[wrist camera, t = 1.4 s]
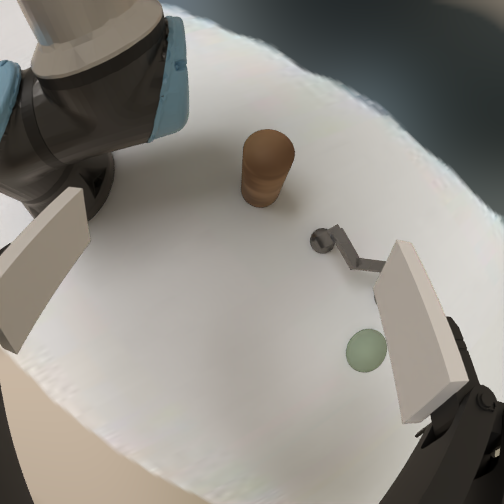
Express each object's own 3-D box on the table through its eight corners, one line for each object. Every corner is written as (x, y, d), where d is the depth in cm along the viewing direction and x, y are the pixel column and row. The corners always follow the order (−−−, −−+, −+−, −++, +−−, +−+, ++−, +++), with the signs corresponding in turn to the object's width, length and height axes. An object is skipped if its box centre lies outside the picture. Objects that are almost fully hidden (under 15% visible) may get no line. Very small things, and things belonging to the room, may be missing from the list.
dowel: (234, 182, 41) (233, 142, 29) (266, 165, 42) (277, 121, 30) (253, 214, 41) (260, 184, 29) (286, 196, 41) (304, 161, 30)
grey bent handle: (302, 248, 41) (315, 239, 34) (318, 224, 41) (334, 211, 34) (386, 312, 40) (412, 315, 33) (400, 288, 41) (427, 288, 34)
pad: (338, 345, 40) (339, 345, 39) (374, 320, 40) (375, 320, 40) (357, 379, 39) (358, 380, 39) (391, 355, 40) (393, 355, 39)
